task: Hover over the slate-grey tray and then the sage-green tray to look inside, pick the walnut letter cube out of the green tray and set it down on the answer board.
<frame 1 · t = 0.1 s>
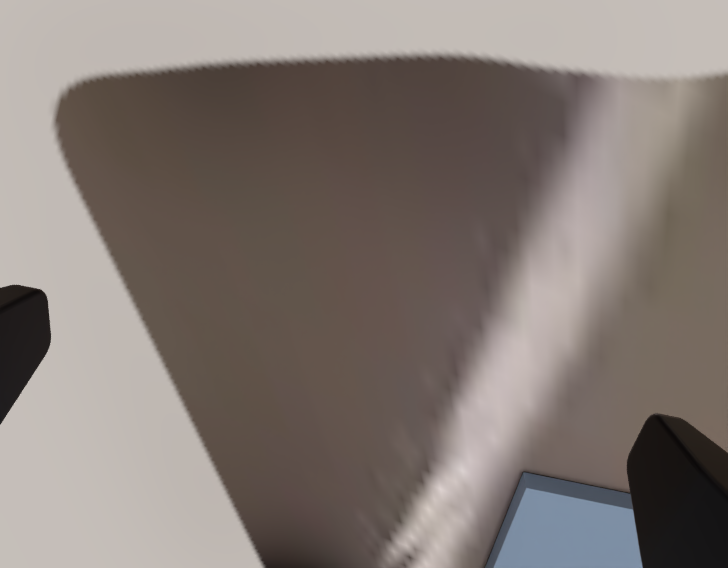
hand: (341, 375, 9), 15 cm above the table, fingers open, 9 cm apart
answer board: (578, 545, 30), on the table
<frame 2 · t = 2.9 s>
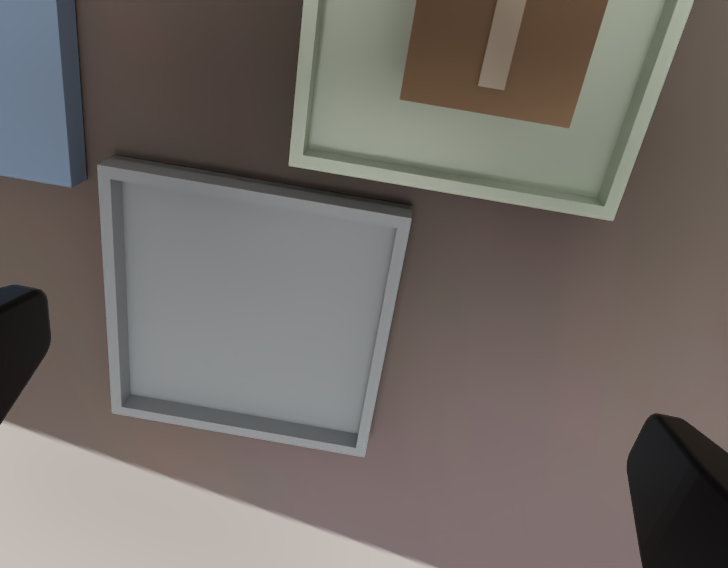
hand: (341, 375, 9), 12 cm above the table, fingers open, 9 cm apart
green tray: (486, 13, 17), on the table
grey tray: (253, 310, 22), on the table
letter cube: (487, 13, 16), resting on green tray
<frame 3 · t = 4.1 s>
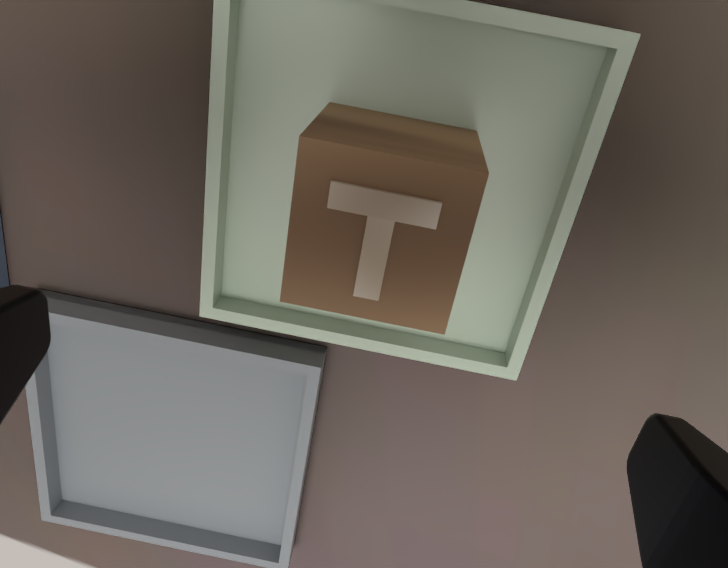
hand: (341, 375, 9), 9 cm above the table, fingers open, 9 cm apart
green tray: (390, 183, 17), on the table
grey tray: (178, 430, 22), on the table
letter cube: (389, 187, 17), resting on green tray
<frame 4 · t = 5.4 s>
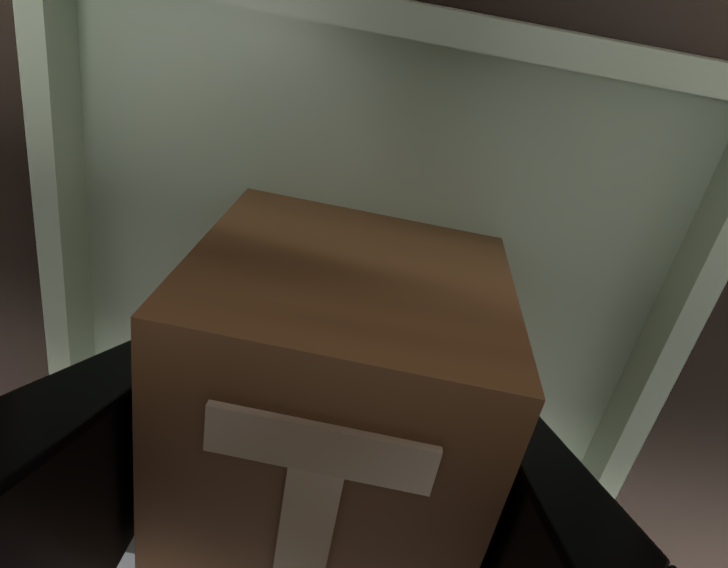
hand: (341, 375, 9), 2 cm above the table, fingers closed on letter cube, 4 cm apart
green tray: (356, 310, 10), on the table
letter cube: (353, 322, 10), resting on green tray, touching gripper
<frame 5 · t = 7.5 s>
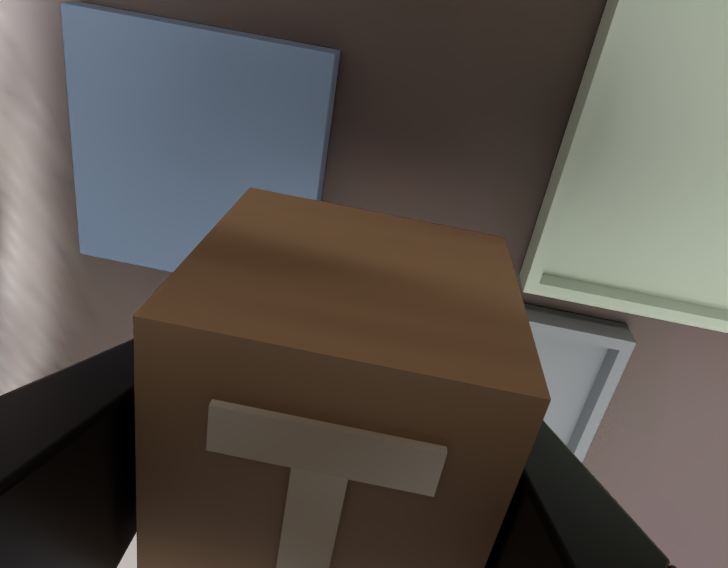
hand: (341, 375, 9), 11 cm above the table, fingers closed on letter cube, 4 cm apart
grey tray: (450, 406, 23), on the table
answer board: (205, 156, 19), on the table
letter cube: (356, 321, 10), point 10 cm above the table, touching gripper
when the fingers open (4 cm above the table, at t = 9.7 s): letter cube drops 2 cm, resting on answer board.
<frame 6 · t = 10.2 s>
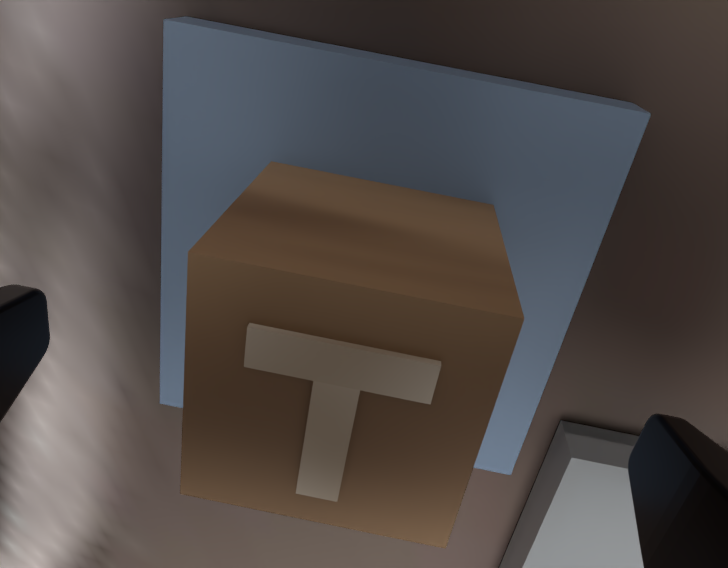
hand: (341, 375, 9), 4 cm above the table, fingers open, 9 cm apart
answer board: (369, 261, 12), on the table
letter cube: (363, 281, 11), point 1 cm above the table, touching answer board
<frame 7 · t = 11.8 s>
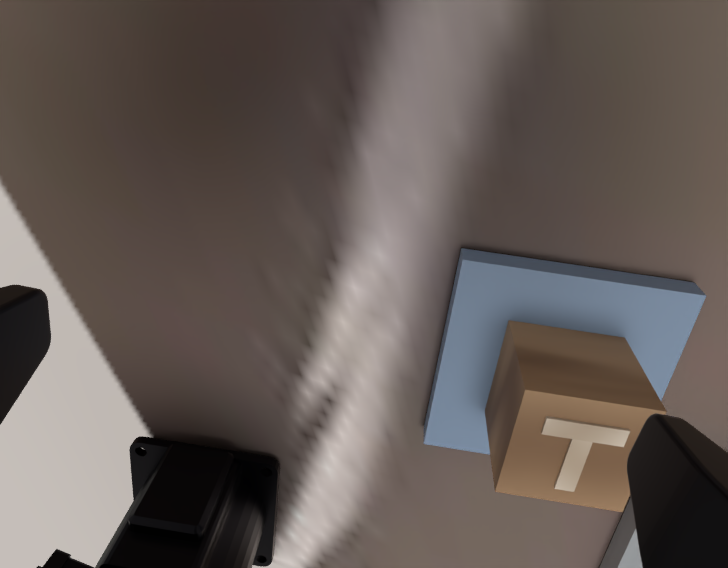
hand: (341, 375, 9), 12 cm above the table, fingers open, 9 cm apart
answer board: (547, 361, 22), on the table
letter cube: (551, 376, 21), point 1 cm above the table, touching answer board
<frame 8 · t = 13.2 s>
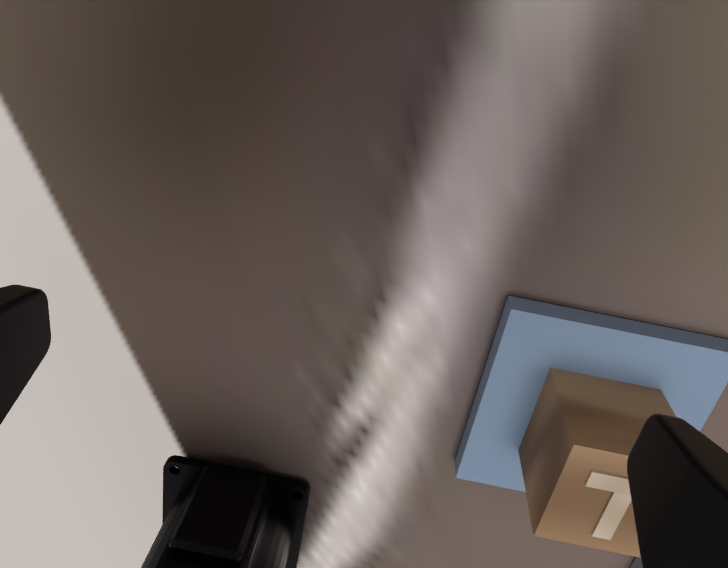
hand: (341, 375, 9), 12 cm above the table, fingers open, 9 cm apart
answer board: (580, 404, 23), on the table
letter cube: (586, 421, 22), point 1 cm above the table, touching answer board
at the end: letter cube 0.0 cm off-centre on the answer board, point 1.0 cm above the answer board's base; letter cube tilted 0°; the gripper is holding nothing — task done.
